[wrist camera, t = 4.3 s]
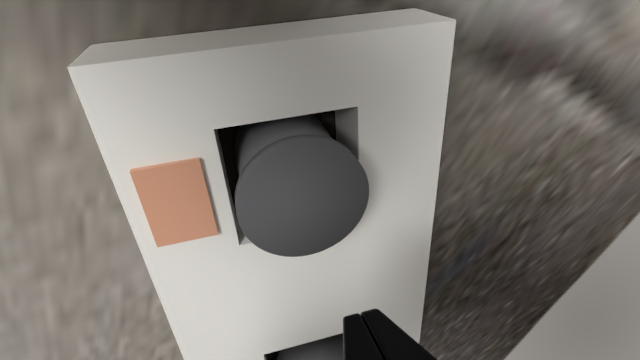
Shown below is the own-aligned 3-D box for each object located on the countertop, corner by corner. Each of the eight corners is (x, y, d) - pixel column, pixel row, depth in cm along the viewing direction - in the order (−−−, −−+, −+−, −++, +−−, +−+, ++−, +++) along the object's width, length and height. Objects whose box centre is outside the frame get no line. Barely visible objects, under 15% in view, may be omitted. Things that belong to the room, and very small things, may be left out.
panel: (394, 350, 27) (415, 394, 25) (218, 401, 25) (221, 455, 22) (414, 7, 16) (459, 20, 13) (91, 44, 13) (64, 68, 11)
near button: (334, 182, 19) (368, 241, 15) (237, 201, 18) (248, 269, 14) (330, 88, 16) (369, 130, 13) (217, 104, 15) (223, 156, 12)
